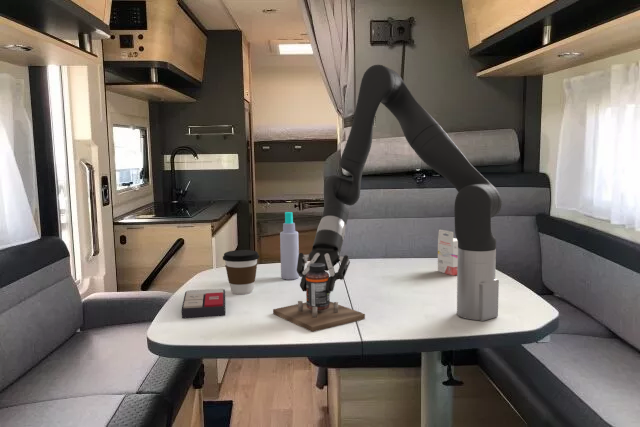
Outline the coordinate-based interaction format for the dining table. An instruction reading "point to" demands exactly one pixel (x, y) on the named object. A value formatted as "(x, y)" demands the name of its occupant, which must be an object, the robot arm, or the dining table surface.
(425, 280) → the dining table surface
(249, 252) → the coffee cup
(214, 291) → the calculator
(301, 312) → the pin tray
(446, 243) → the ink cartridge box
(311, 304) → the supplement bottle
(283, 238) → the spray bottle
